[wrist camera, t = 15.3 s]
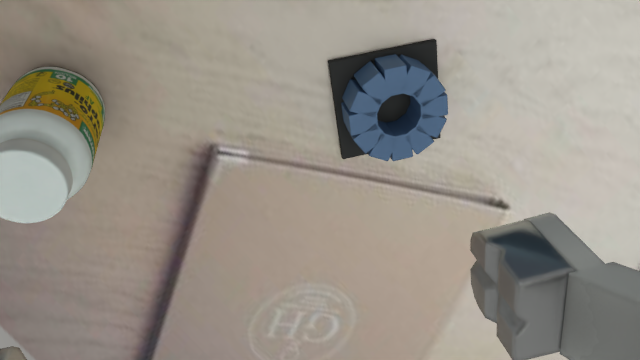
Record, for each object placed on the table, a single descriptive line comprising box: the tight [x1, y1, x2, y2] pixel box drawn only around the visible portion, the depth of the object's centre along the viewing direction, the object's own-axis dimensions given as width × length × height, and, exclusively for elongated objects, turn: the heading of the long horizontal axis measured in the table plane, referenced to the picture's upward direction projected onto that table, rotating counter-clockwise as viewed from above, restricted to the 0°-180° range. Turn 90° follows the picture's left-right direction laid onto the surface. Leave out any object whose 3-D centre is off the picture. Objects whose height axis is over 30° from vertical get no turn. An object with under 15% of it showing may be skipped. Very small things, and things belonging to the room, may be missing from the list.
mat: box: [328, 39, 440, 159], centre depth 39 cm, size 7×7×1 cm
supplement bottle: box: [0, 67, 105, 223], centre depth 32 cm, size 5×5×10 cm
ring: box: [341, 54, 448, 161], centre depth 38 cm, size 6×6×2 cm
